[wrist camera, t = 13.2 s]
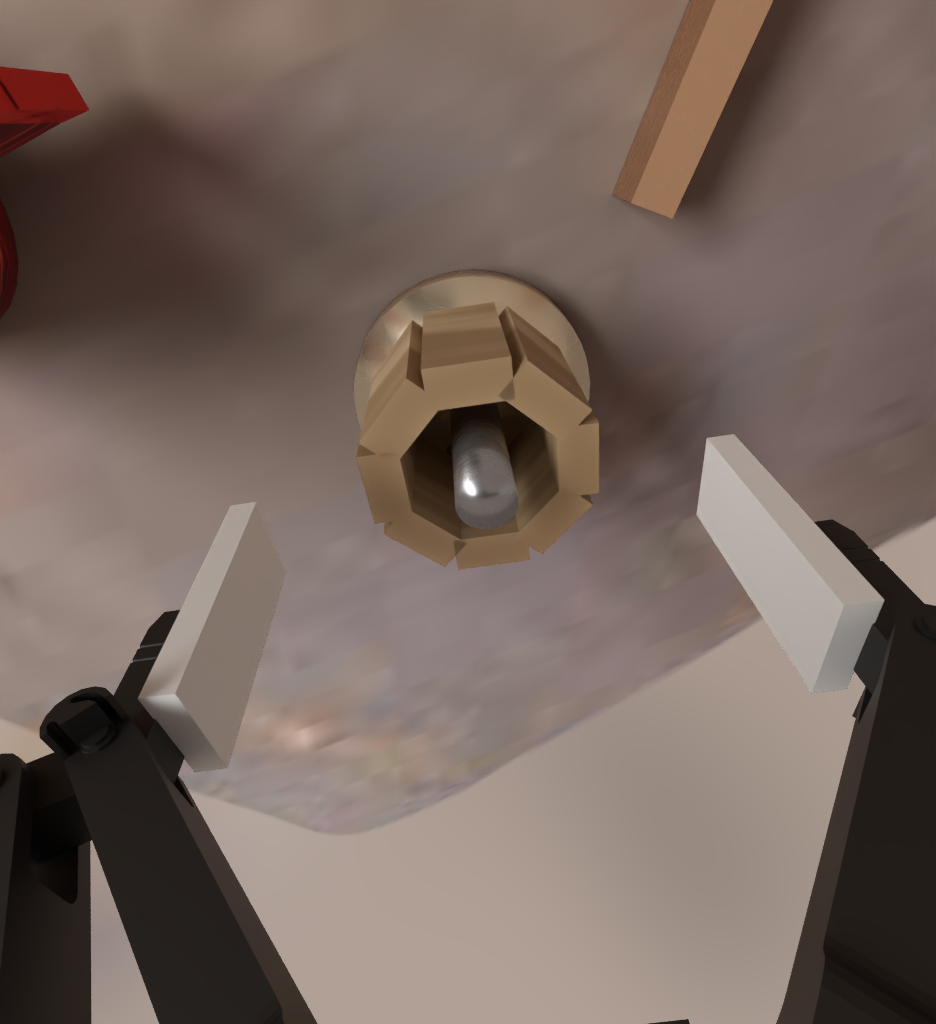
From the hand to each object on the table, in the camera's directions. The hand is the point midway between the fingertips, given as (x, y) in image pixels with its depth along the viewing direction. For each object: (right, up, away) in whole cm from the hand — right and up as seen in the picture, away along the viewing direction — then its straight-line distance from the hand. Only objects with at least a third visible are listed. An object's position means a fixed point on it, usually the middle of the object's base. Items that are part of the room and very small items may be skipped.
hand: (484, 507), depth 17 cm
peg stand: (0, +5, +8) cm, 10 cm away
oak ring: (0, +5, +7) cm, 9 cm away
